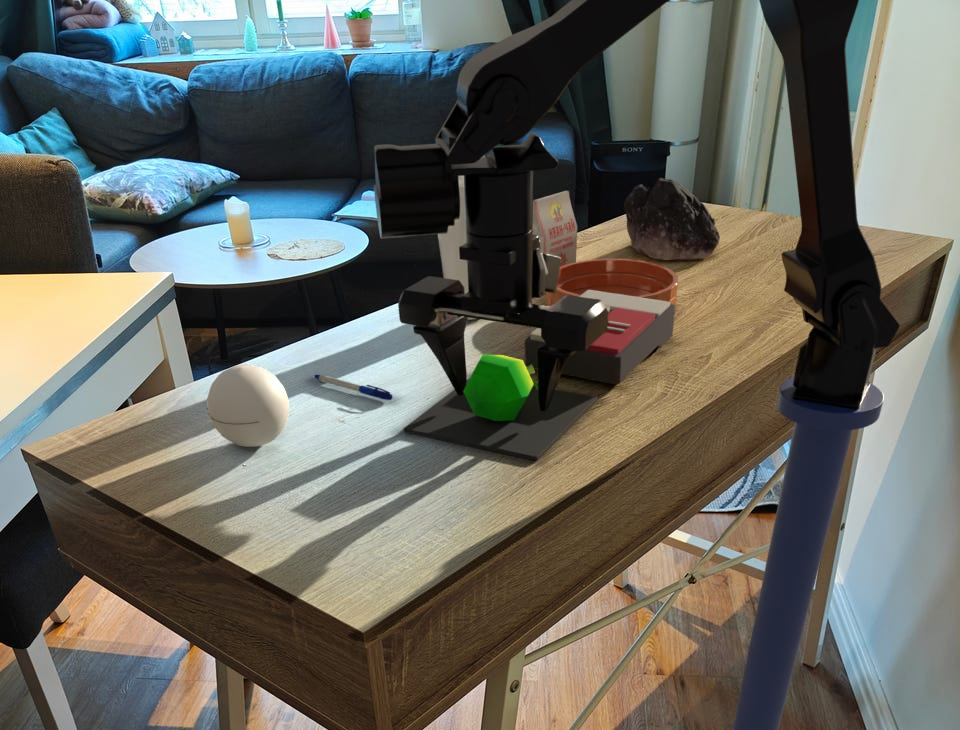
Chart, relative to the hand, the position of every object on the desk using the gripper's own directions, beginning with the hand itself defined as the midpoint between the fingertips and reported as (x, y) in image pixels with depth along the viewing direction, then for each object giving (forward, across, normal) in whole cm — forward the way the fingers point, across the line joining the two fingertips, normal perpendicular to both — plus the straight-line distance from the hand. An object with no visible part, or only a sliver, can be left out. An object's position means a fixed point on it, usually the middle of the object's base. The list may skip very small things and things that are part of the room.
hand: (502, 401), depth 86 cm
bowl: (+2, +2, -33) cm, 33 cm away
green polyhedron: (+1, 0, 0) cm, 1 cm away
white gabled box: (+2, +14, -41) cm, 43 cm away
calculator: (+1, -3, -18) cm, 18 cm away
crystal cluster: (+2, +3, -59) cm, 59 cm away
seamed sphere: (+2, +19, +16) cm, 25 cm away
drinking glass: (+2, +17, -24) cm, 29 cm away
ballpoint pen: (+2, +17, +1) cm, 17 cm away
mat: (+2, 0, 0) cm, 2 cm away
